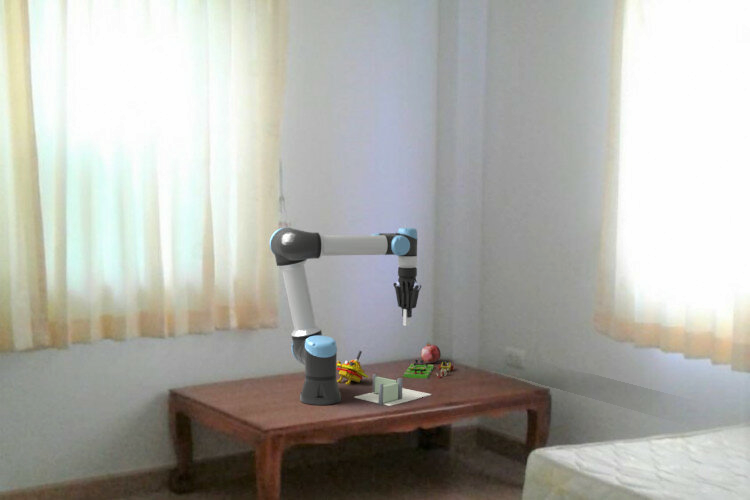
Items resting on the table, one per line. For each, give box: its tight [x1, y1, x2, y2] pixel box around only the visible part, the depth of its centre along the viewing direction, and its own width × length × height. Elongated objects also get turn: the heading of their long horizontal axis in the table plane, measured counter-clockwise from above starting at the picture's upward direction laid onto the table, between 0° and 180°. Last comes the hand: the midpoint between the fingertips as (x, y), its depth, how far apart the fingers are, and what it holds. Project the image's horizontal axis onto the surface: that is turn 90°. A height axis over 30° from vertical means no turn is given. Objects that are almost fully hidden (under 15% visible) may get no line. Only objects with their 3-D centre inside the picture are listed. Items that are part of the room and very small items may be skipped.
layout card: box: [354, 387, 432, 407], centre depth 347 cm, size 24×18×1 cm
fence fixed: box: [378, 377, 404, 406], centre depth 338 cm, size 12×2×8 cm, turn 138°
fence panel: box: [372, 373, 397, 393], centre depth 347 cm, size 12×2×7 cm, turn 49°
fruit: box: [420, 341, 442, 364], centre depth 412 cm, size 9×10×10 cm
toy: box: [336, 350, 370, 386], centre depth 370 cm, size 14×10×15 cm
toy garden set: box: [403, 359, 454, 379], centre depth 391 cm, size 23×19×5 cm
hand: (406, 325), depth 364 cm, fingers closed
